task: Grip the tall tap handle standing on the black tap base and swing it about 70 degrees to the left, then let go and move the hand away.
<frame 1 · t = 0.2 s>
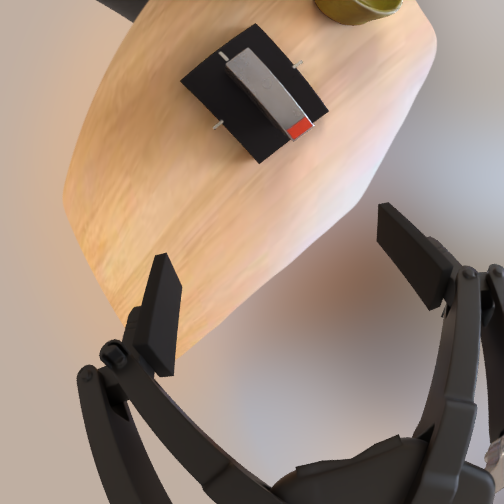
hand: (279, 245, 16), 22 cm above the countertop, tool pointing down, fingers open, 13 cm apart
tap base: (255, 92, 29), on the countertop
tap handle: (264, 93, 23), point 7 cm above the countertop, hinge at 0.0°
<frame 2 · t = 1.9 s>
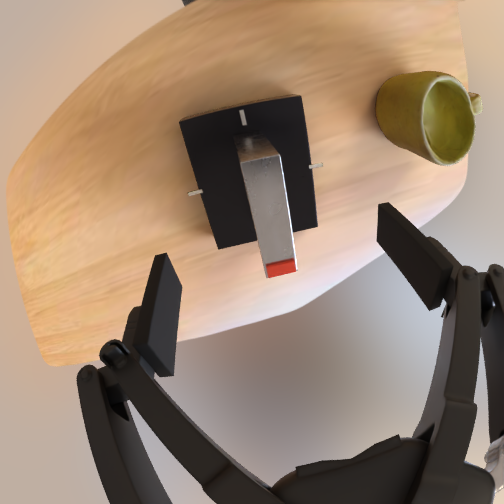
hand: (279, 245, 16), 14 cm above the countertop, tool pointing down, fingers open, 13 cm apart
tap base: (253, 169, 27), on the countertop
tap handle: (263, 196, 21), point 7 cm above the countertop, hinge at 0.0°
mug: (412, 105, 24), on the countertop
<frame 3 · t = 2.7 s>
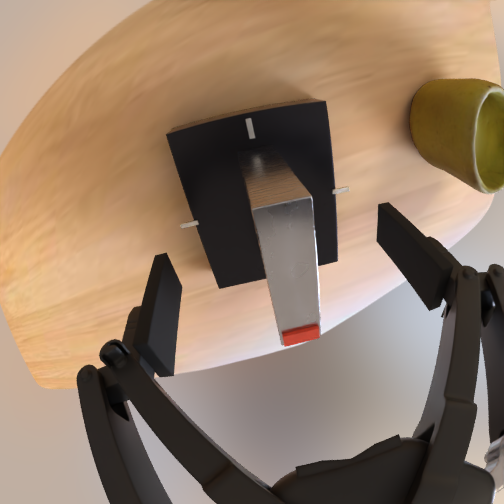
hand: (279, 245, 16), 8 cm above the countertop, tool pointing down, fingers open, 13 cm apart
tap base: (261, 192, 22), on the countertop
tap handle: (278, 238, 16), point 7 cm above the countertop, hinge at 0.0°
mug: (447, 115, 19), on the countertop
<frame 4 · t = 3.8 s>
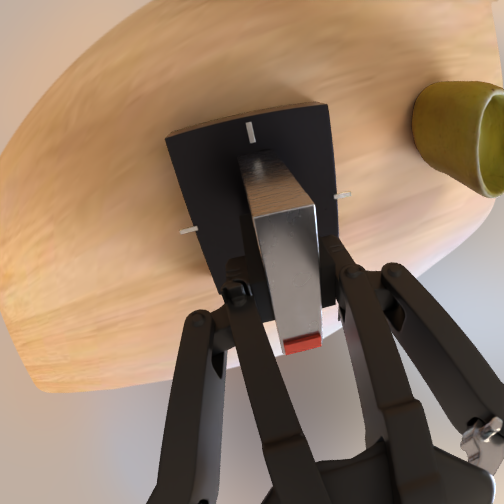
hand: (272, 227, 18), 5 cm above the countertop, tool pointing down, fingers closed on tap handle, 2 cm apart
tap base: (261, 197, 22), on the countertop
tap handle: (279, 245, 16), point 7 cm above the countertop, hinge at 0.0°, touching gripper
mug: (449, 118, 19), on the countertop
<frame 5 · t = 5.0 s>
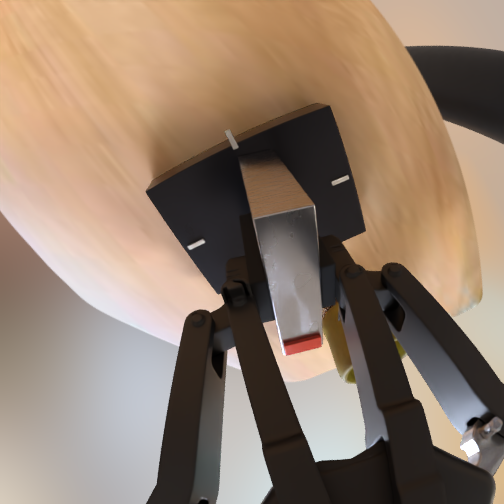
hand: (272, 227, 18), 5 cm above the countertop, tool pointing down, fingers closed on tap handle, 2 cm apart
tap base: (262, 197, 22), on the countertop
tap handle: (279, 245, 16), point 7 cm above the countertop, hinge at 77.2°, touching gripper
mug: (358, 315, 32), on the countertop
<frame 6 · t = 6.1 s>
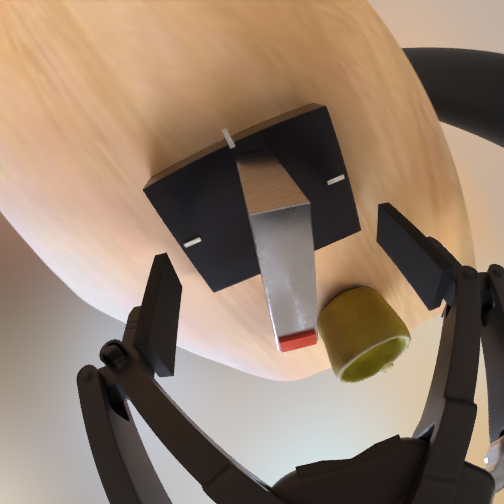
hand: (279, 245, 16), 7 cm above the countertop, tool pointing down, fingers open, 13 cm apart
tap base: (258, 196, 22), on the countertop
tap handle: (274, 243, 16), point 7 cm above the countertop, hinge at 77.2°
mug: (353, 315, 33), on the countertop
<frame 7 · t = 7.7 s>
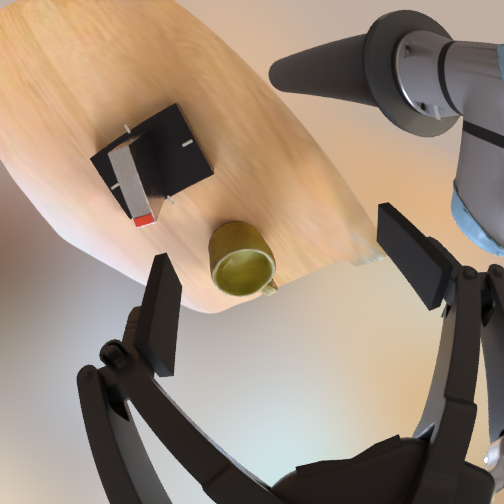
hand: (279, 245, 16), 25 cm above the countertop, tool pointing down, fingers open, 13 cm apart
tap base: (152, 159, 35), on the countertop
tap handle: (141, 175, 29), point 7 cm above the countertop, hinge at 77.2°
mug: (243, 248, 46), on the countertop
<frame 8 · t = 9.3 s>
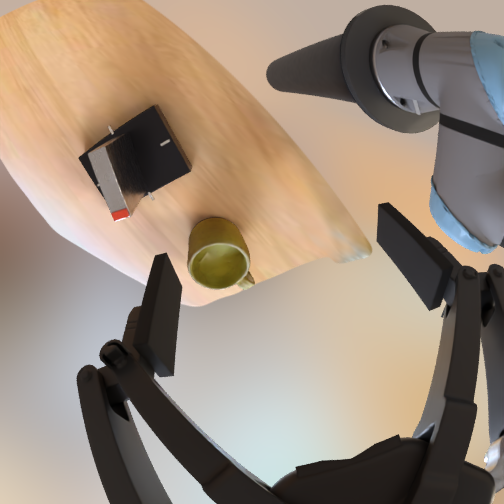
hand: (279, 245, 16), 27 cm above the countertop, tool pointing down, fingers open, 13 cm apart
tap base: (135, 158, 37), on the countertop
tap handle: (120, 173, 31), point 7 cm above the countertop, hinge at 77.2°
mug: (223, 244, 47), on the countertop
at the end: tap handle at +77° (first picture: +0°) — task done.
